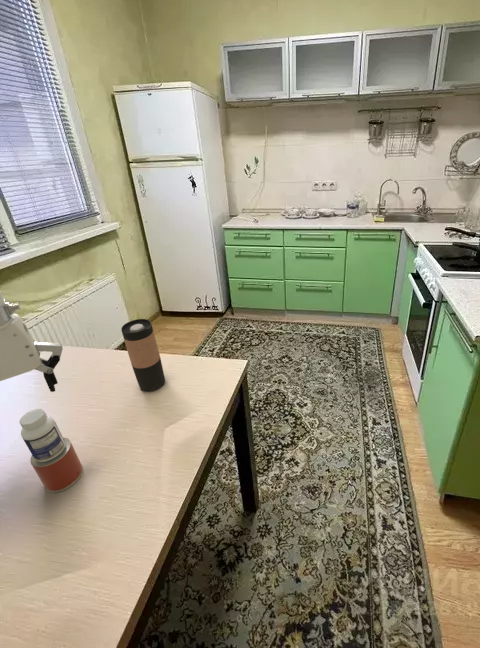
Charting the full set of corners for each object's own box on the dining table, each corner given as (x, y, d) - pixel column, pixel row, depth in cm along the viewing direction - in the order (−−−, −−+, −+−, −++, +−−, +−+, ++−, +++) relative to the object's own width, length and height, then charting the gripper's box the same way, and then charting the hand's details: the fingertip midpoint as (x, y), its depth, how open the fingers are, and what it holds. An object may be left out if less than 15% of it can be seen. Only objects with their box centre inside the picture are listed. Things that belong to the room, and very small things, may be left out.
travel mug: (134, 383, 96) (116, 325, 87) (160, 371, 100) (145, 315, 91) (144, 396, 91) (126, 336, 82) (170, 384, 95) (155, 325, 86)
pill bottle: (37, 446, 67) (17, 411, 62) (67, 436, 69) (50, 402, 65) (32, 467, 63) (11, 431, 58) (64, 455, 65) (46, 420, 60)
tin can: (39, 497, 65) (23, 471, 62) (51, 467, 72) (37, 441, 68) (78, 487, 67) (65, 461, 64) (86, 458, 73) (75, 433, 70)
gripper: (43, 295, 59) (72, 370, 67) (-93, 326, 50) (-40, 409, 57) (47, 310, 54) (78, 389, 62) (-104, 348, 44) (-44, 436, 52)
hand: (21, 399), depth 59 cm, fingers open, 9 cm apart
